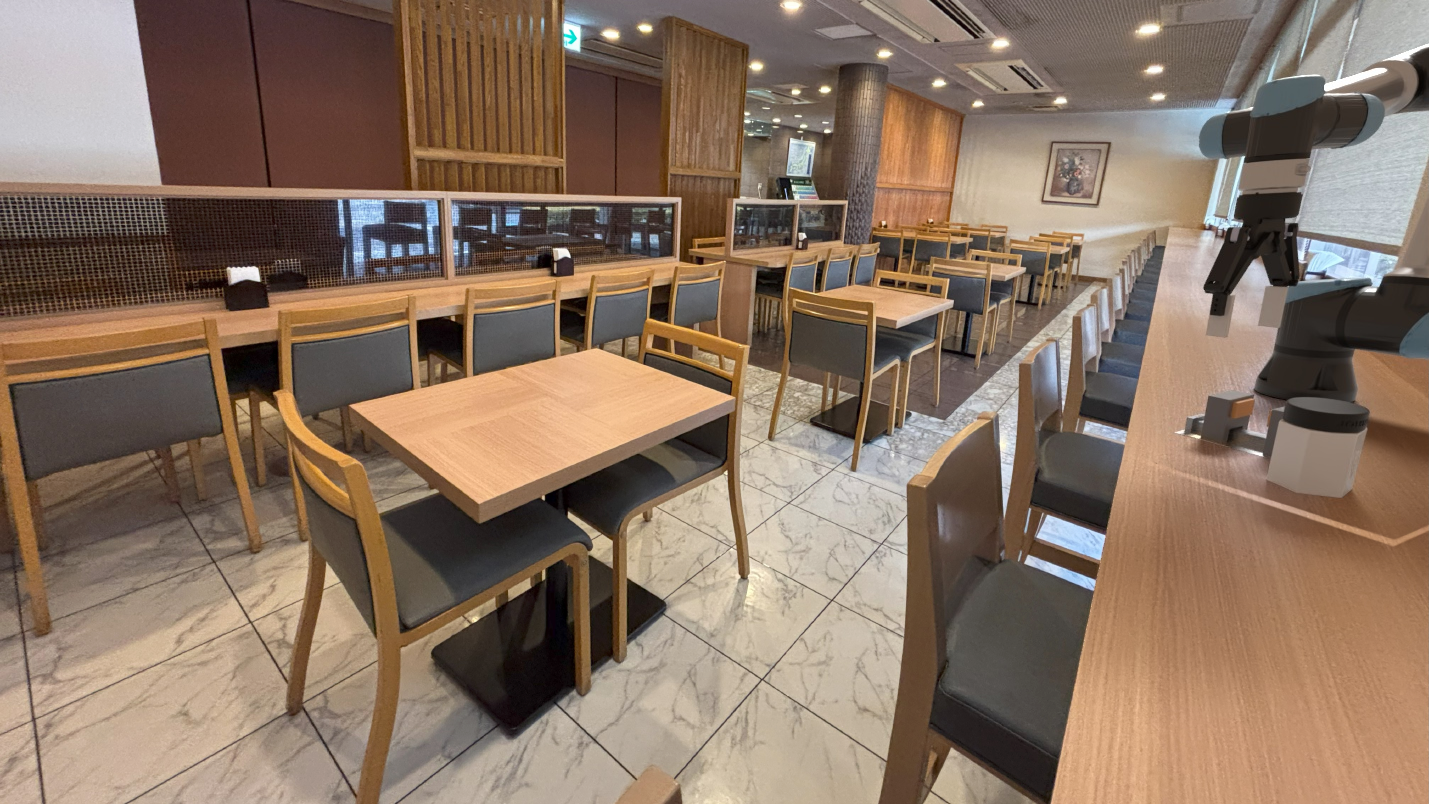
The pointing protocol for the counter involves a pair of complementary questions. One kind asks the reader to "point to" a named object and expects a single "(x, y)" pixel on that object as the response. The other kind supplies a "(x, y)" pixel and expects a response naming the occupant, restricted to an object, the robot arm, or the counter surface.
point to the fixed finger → (1272, 429)
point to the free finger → (1226, 414)
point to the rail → (1236, 437)
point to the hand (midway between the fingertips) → (1243, 331)
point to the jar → (1318, 446)
